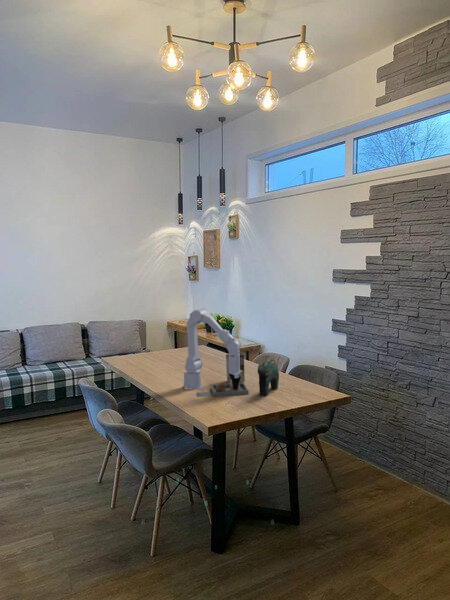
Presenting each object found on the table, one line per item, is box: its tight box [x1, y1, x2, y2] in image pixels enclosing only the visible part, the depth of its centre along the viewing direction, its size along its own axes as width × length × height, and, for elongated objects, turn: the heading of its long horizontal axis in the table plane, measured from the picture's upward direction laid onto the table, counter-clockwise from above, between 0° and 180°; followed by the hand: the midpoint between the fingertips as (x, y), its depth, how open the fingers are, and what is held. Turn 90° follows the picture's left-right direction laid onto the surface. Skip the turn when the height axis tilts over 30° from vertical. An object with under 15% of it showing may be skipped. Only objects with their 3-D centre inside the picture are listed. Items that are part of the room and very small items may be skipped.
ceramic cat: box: [257, 355, 280, 397], centre depth 231 cm, size 20×6×20 cm, turn 151°
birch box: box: [229, 379, 241, 391], centre depth 235 cm, size 4×4×6 cm
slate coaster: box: [196, 391, 212, 398], centre depth 230 cm, size 7×7×1 cm
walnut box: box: [215, 382, 226, 392], centre depth 231 cm, size 4×4×5 cm
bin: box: [211, 382, 250, 397], centre depth 235 cm, size 18×15×2 cm
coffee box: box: [225, 352, 246, 384], centre depth 254 cm, size 9×6×16 cm
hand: (235, 388), depth 235 cm, fingers closed on birch box, 4 cm apart
